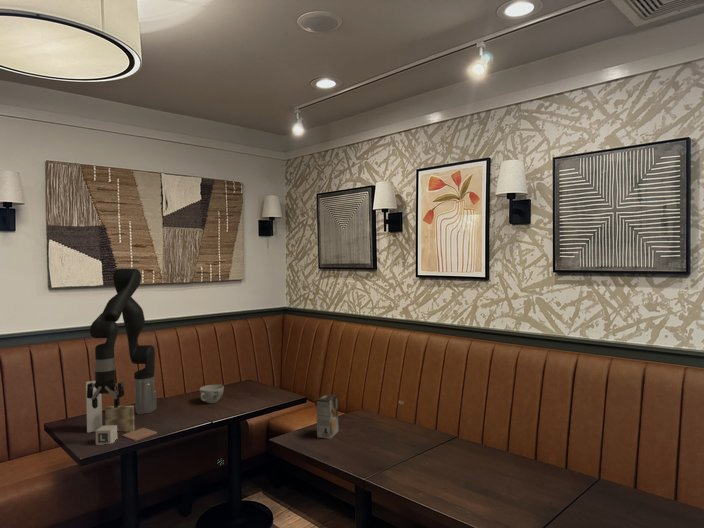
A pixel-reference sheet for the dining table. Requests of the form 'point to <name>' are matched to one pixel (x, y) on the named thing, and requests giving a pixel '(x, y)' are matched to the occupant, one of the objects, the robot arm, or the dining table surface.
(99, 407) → the milk
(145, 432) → the coaster
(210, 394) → the teacup
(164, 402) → the dining table surface
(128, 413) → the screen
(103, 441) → the cube
